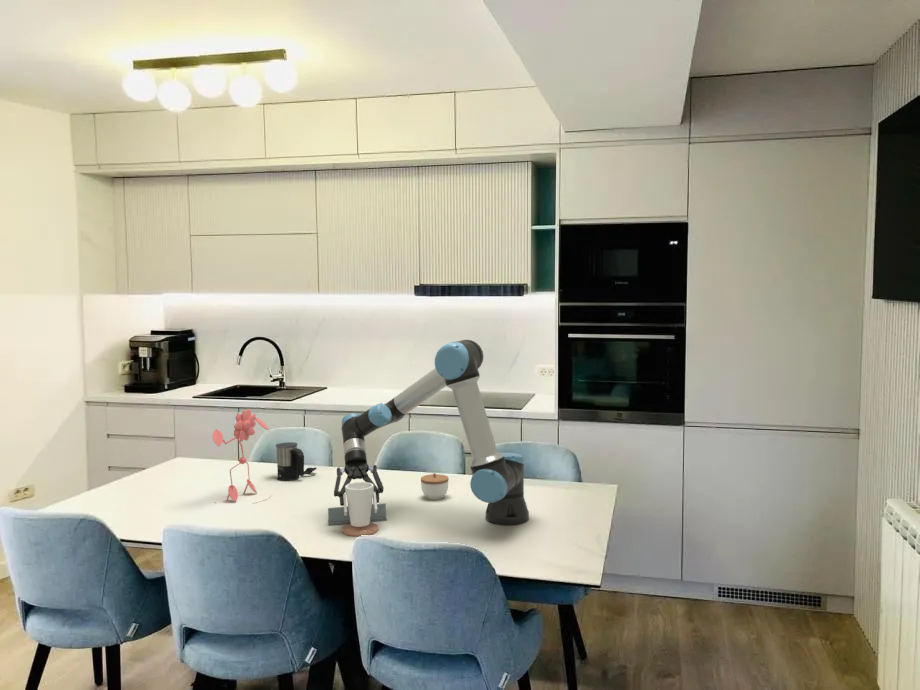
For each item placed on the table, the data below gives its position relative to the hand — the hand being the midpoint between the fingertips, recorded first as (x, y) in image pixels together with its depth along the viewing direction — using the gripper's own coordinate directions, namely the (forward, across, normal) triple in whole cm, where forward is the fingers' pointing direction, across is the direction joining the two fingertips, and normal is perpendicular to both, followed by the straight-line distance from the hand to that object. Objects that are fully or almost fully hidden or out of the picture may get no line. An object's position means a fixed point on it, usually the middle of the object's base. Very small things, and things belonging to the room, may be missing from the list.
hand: (360, 512), depth 249 cm
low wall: (-4, 0, -14) cm, 15 cm away
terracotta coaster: (+3, 0, -7) cm, 8 cm away
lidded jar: (-19, -32, -29) cm, 47 cm away
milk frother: (-51, +19, -62) cm, 83 cm away
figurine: (-31, +38, -42) cm, 65 cm away
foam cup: (+1, 0, -6) cm, 6 cm away
